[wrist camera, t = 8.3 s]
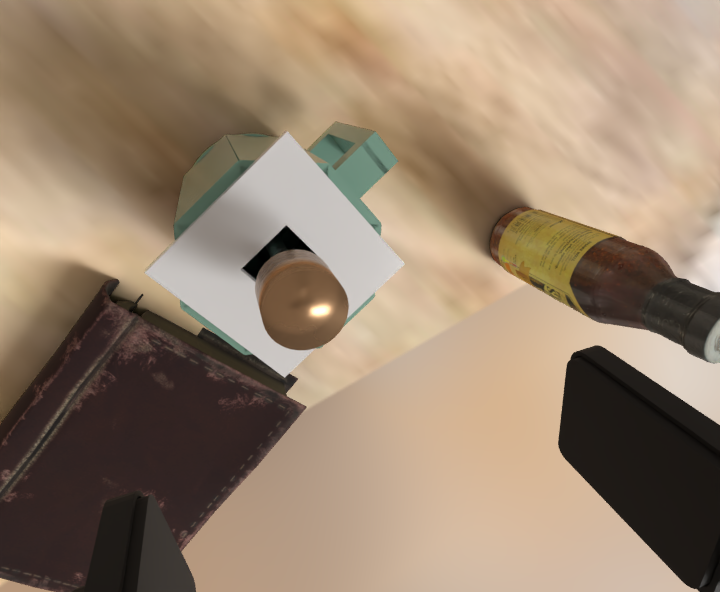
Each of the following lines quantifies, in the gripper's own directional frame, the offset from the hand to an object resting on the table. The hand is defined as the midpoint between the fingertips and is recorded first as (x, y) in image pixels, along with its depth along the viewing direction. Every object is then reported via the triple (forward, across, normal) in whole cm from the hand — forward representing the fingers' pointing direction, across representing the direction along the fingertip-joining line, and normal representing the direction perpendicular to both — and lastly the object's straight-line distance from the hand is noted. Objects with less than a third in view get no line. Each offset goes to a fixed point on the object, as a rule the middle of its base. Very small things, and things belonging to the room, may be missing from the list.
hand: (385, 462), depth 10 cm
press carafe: (+28, -1, 0) cm, 28 cm away
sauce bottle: (+28, -23, +9) cm, 37 cm away
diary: (+28, +15, +19) cm, 38 cm away
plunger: (+24, 0, +1) cm, 24 cm away
